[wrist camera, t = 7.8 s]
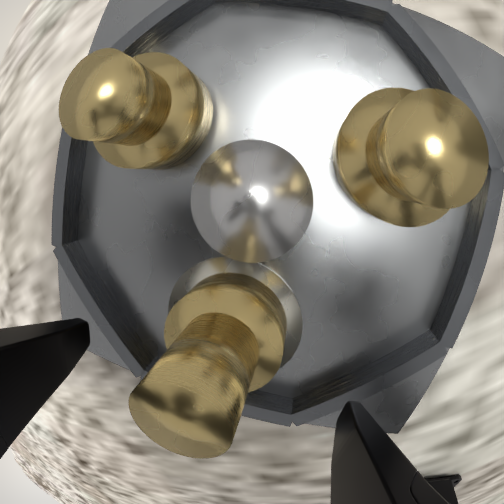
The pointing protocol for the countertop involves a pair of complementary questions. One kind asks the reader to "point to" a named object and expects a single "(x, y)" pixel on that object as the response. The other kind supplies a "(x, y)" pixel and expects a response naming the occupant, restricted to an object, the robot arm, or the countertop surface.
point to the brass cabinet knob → (210, 364)
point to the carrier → (283, 187)
